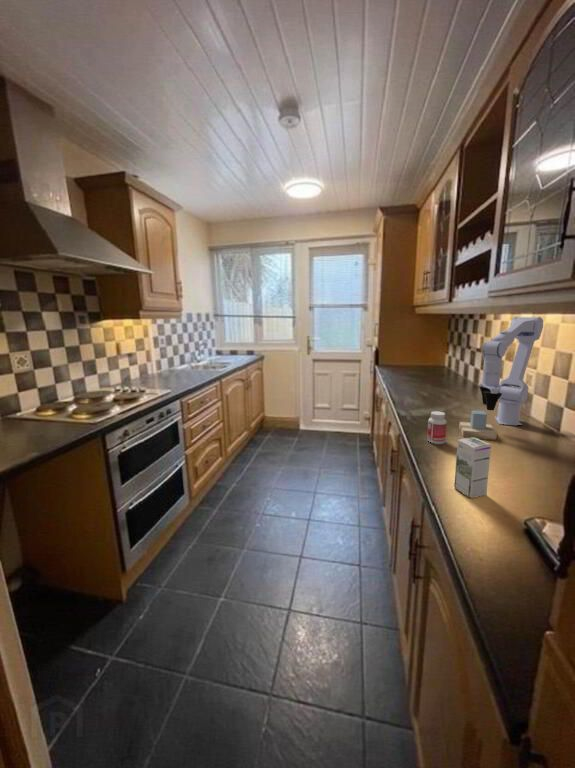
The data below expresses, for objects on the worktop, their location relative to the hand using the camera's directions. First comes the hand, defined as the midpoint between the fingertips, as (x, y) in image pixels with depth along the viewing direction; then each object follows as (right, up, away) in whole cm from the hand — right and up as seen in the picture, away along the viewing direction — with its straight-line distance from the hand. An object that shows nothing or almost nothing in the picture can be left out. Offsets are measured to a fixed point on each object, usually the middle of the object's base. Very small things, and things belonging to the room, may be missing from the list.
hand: (488, 407), depth 131 cm
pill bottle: (-23, -13, -6) cm, 27 cm away
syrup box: (-29, -20, -40) cm, 53 cm away
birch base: (-4, -10, +1) cm, 11 cm away
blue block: (-4, -8, 0) cm, 9 cm away
